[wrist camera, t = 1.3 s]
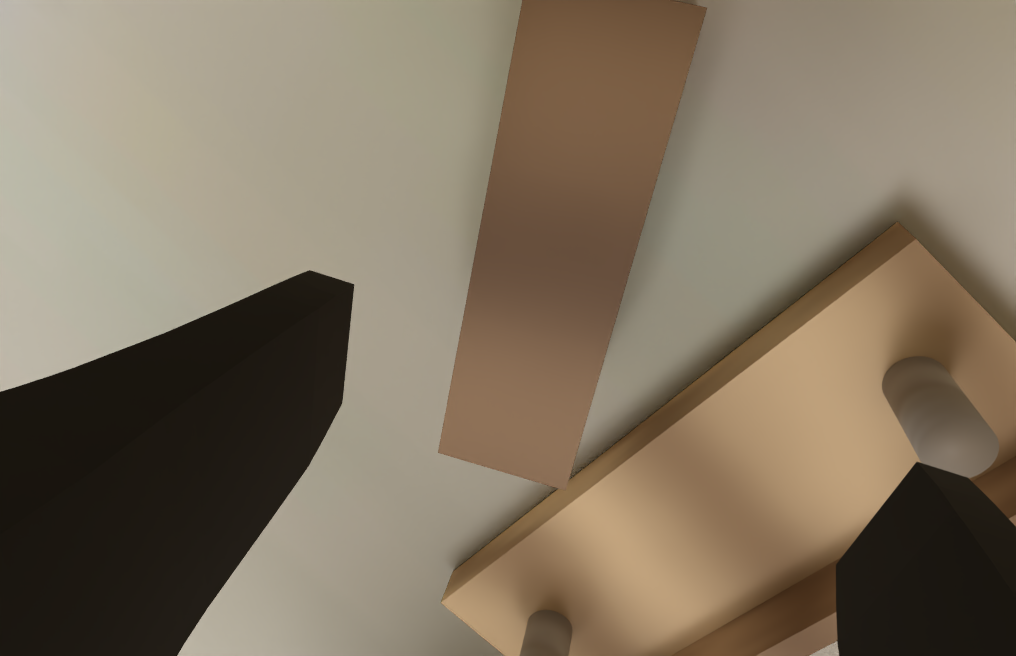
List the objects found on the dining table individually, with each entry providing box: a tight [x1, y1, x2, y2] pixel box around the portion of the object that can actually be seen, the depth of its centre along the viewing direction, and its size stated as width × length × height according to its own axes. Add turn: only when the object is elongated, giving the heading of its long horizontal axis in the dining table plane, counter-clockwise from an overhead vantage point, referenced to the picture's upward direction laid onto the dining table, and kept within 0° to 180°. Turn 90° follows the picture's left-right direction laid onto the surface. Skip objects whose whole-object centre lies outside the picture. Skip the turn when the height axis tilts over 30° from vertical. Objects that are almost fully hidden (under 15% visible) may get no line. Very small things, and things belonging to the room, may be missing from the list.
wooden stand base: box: [441, 222, 1016, 656], centre depth 20 cm, size 18×7×4 cm, turn 139°
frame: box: [438, 0, 707, 491], centre depth 17 cm, size 10×3×6 cm, turn 169°
